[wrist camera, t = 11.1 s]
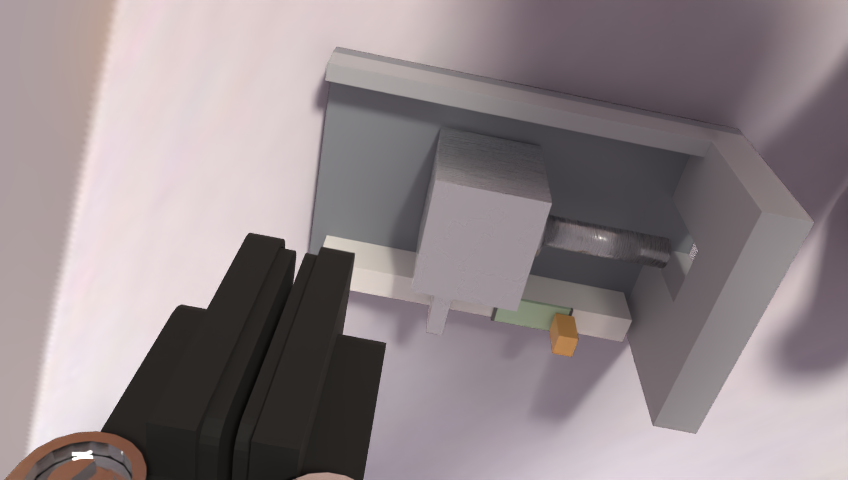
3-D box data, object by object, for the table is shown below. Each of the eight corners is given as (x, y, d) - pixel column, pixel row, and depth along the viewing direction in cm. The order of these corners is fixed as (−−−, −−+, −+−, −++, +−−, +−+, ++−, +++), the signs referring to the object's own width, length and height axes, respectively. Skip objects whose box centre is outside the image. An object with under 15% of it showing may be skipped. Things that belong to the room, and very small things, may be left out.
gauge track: (336, 46, 40) (294, 118, 31) (738, 129, 41) (814, 222, 32) (311, 248, 48) (271, 355, 38) (653, 314, 49) (696, 433, 39)
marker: (555, 313, 44) (559, 335, 42) (574, 316, 44) (578, 339, 42) (549, 330, 44) (552, 353, 43) (567, 333, 45) (571, 356, 43)
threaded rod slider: (441, 126, 41) (435, 180, 35) (672, 173, 42) (704, 233, 36) (408, 277, 47) (398, 346, 41) (612, 316, 48) (631, 389, 42)
